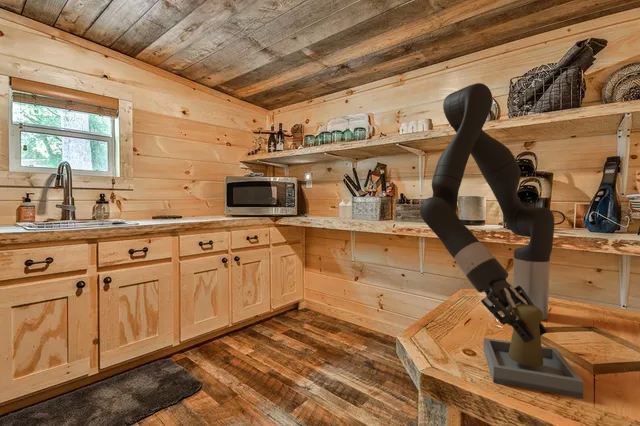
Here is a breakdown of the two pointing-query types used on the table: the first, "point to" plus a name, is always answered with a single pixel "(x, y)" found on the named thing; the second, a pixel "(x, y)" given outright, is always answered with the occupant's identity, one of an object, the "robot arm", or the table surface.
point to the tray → (533, 370)
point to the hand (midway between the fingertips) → (536, 337)
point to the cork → (533, 349)
